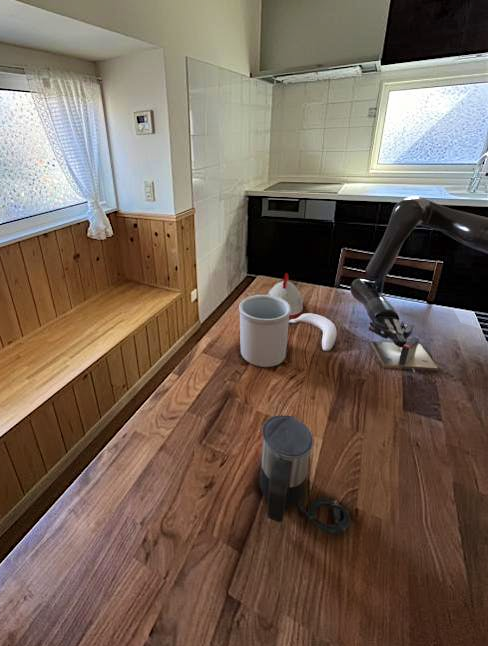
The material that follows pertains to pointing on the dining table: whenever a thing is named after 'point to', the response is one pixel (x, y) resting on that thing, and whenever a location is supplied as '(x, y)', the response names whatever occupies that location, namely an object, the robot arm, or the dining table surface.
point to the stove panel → (391, 356)
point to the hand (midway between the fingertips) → (402, 344)
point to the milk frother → (292, 473)
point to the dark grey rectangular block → (408, 351)
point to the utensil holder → (264, 329)
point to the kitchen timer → (289, 296)
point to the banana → (323, 324)
